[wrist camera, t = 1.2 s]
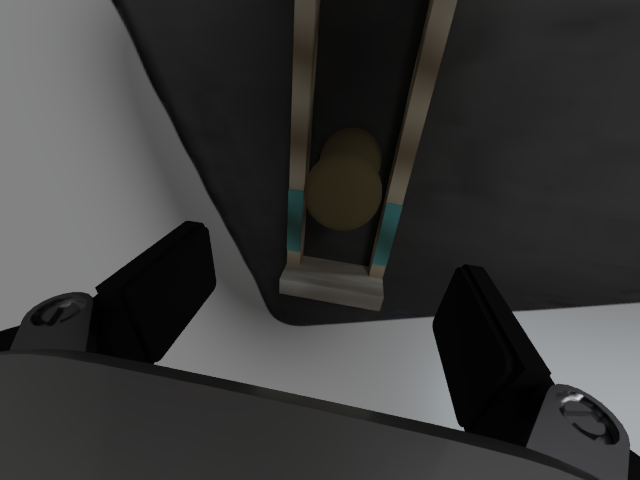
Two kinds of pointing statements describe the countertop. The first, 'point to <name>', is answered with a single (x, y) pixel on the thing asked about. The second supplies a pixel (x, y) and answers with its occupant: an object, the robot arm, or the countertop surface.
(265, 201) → the countertop surface
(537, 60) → the countertop surface
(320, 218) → the dark brown rounded piece
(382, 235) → the guide channel
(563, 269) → the countertop surface
